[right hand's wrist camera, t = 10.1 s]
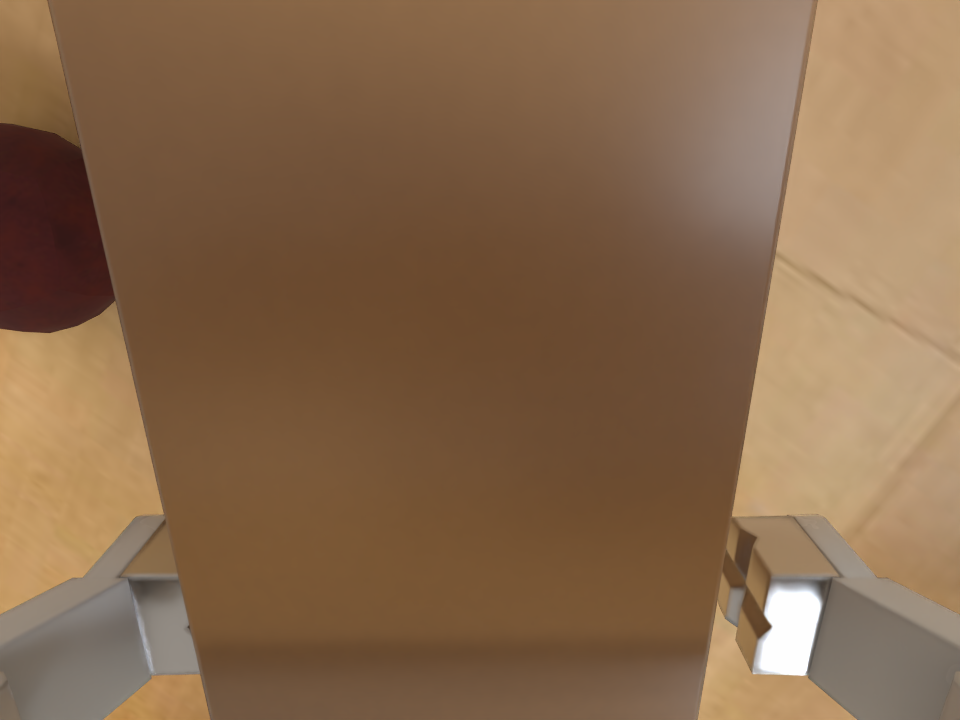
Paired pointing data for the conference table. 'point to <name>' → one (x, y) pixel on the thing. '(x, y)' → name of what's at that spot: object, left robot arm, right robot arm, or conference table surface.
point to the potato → (48, 235)
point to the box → (442, 332)
